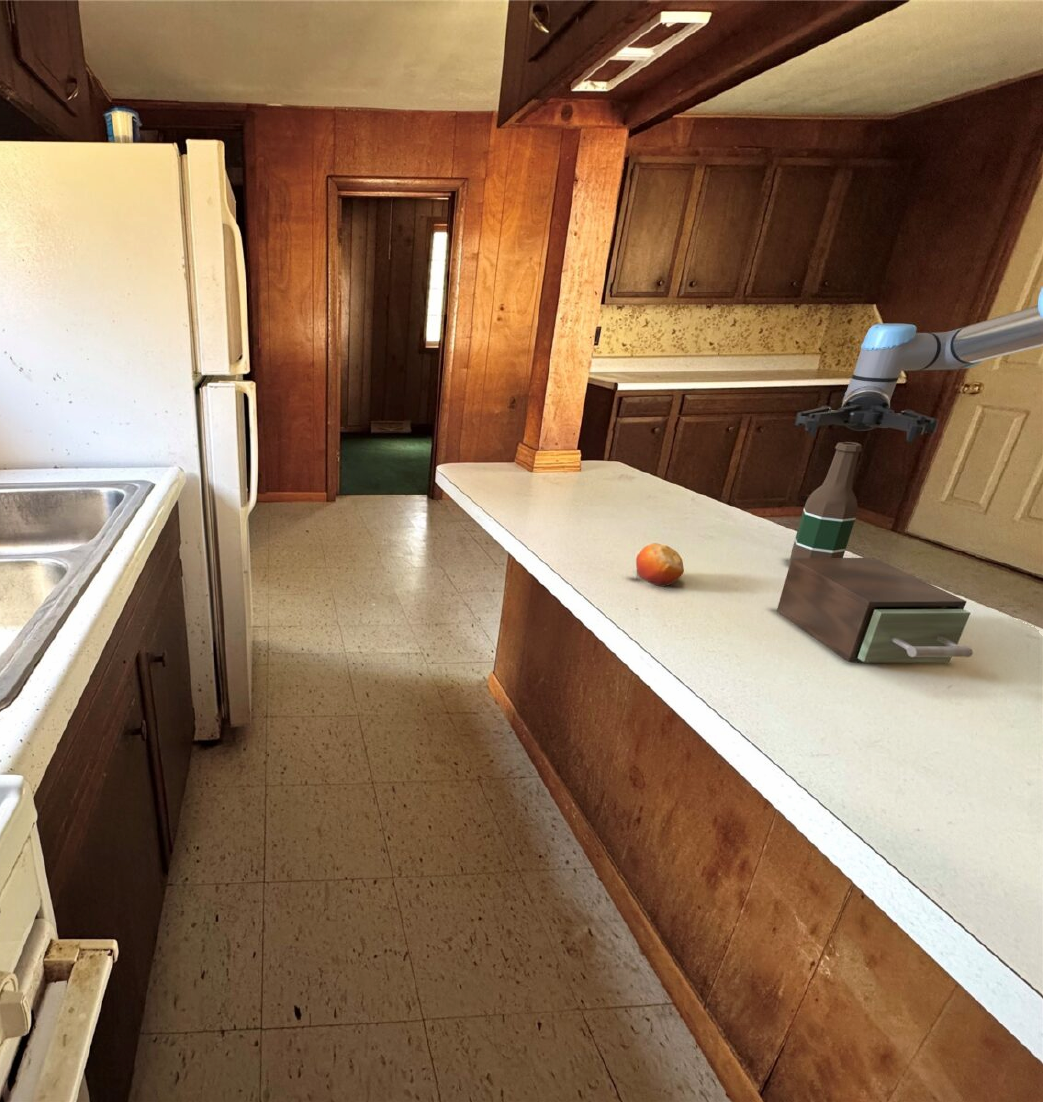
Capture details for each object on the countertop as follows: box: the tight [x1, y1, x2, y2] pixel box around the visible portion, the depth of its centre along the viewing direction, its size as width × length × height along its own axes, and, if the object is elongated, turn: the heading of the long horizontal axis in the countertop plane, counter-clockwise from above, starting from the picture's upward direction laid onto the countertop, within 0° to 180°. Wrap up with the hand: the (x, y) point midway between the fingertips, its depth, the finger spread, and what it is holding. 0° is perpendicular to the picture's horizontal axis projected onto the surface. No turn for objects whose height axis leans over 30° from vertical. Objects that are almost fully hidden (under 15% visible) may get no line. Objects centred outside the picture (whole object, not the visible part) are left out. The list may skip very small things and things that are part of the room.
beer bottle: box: [789, 441, 863, 561], centre depth 112 cm, size 8×8×24 cm
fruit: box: [633, 542, 685, 587], centre depth 112 cm, size 8×8×8 cm
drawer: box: [858, 607, 974, 663], centre depth 88 cm, size 19×11×8 cm, turn 177°
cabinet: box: [776, 557, 967, 663], centre depth 92 cm, size 16×13×10 cm
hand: (861, 431), depth 111 cm, fingers open, 13 cm apart
